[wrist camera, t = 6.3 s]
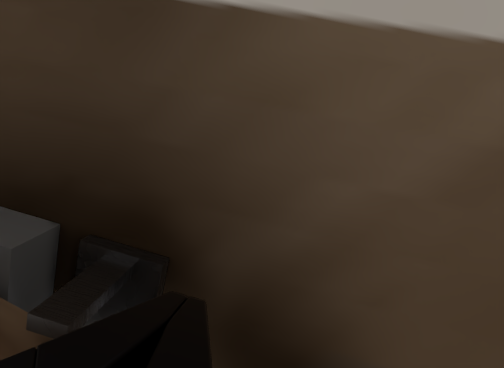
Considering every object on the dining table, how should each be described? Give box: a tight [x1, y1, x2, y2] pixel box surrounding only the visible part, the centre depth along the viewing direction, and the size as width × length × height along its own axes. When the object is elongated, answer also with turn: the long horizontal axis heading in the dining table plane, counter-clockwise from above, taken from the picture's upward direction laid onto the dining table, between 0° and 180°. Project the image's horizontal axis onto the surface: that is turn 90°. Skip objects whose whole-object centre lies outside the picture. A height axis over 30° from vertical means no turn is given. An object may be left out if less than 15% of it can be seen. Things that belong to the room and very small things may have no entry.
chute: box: [0, 298, 53, 360], centre depth 17 cm, size 12×18×6 cm
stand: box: [26, 235, 169, 339], centre depth 20 cm, size 11×5×7 cm, turn 167°
